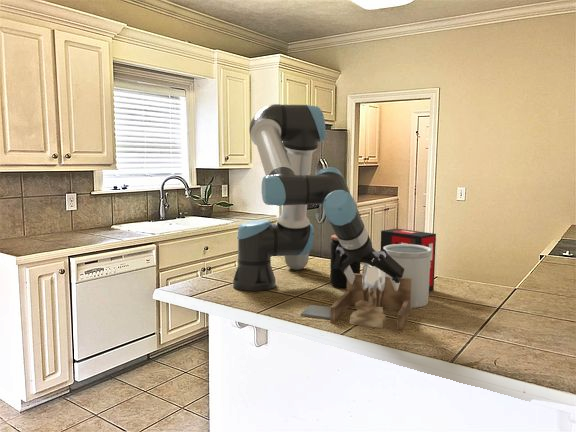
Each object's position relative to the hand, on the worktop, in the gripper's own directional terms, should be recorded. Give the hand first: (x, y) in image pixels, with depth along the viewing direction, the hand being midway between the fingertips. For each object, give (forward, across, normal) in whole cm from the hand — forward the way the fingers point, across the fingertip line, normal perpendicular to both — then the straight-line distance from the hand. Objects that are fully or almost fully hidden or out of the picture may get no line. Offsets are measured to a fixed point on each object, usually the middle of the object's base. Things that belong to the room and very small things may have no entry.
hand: (374, 283), depth 136 cm
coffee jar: (+26, -22, +12) cm, 36 cm away
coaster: (+3, -15, -11) cm, 18 cm away
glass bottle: (+34, -49, +21) cm, 63 cm away
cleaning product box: (+32, -2, +18) cm, 37 cm away
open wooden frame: (+6, 0, -8) cm, 10 cm away
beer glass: (+8, -1, -6) cm, 10 cm away
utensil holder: (+20, +3, +6) cm, 22 cm away
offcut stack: (+2, +1, -11) cm, 12 cm away
